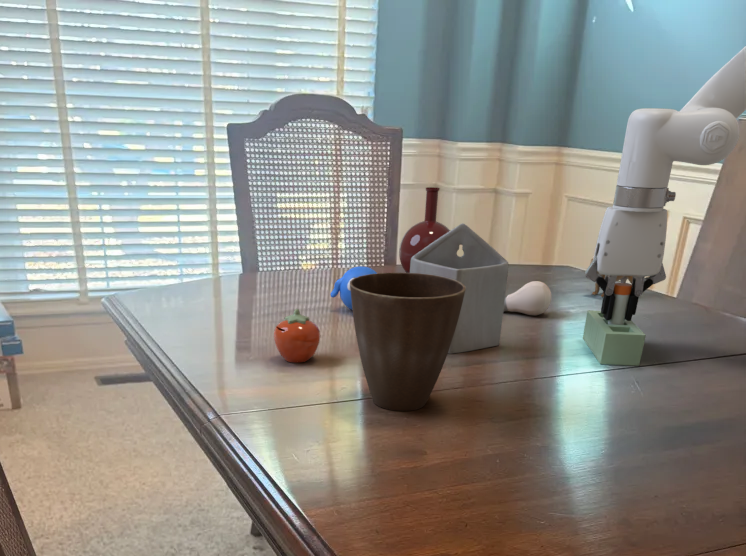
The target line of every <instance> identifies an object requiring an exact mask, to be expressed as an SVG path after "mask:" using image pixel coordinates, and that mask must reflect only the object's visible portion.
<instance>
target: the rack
mask: <svg viewBox="0 0 746 556" xmlns="http://www.w3.org/2000/svg"><path fill="white" fill-rule="evenodd" d="M646 335H647V334H645V332H643V331H642V330H641V328H640V327H638V325H636V323H635V322H634V321H633V320H632V319H631V321H627V320H626V319H625V321H624V325H614V324H608V320H606V319H605V318H604V317H603V314H602V313H601V310H588V309H587V311H586V317H585V321H584V328H583V334H582V340H583V341H584V342H585V344H586V345H587V347H588V348H589V350H590V352H592V354H593V356H594V357H595V359H596V360H597V361H598V363H599V364H600V365H609V366H630V367H631V366H632V367H633V366H634V367H639V366H640V364H641V359H642V355H643V350H644V345H645V341H646V337H647V336H646Z"/></svg>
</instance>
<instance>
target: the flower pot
mask: <svg viewBox="0 0 746 556" xmlns="http://www.w3.org/2000/svg"><path fill="white" fill-rule="evenodd" d="M350 290H351V300H352V310H351V311H352V318H353V325H354V331H355V337H356V342H357V348H358V352H359V357H360V361H361V365H362V366H361V367H362V370H363V373H364V374H363V375H364V377H365V381H366V384H367V387H368V390H369V393H370V396H371V400H372V402H373V403H374V404H375V405H376V406H378V407H380V408H383V409H386V410H390V411H396V412H409V411H410V412H411V411H416V410H419V409H421V408H423V407H424V406H425V405H427V402H428V400H429V398H430V396H431V394H432V393H433V390H434V388H435V386H436V384H437V381H438V379H439V377H440V374H441V372H442V369H443V367H444V365H445V362H446V359H447V356H448V355H449V354H448V351H449V348H450V345H451V342H452V339H453V336H454V333H455V330H456V326H457V323H458V319H459V315H460V311H461V307H462V303H463V299H464V294H465V290H466V287H465V285H464V284H463V283H461V282H459V281H456V280H453V279H450V278H446V277H441V276H435V275H429V274H420V273H406V272H377V274H368V275H363V276H359V277H356V278H354V279H352V280H351V281H350Z"/></svg>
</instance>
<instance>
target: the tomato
mask: <svg viewBox="0 0 746 556" xmlns="http://www.w3.org/2000/svg"><path fill="white" fill-rule="evenodd" d="M273 341H274V344H275V348H276V349H277V351H278V352H279V354H280V356H281V357H282V358H283V359H284V360H285V361H286V362H287V363H294V364H299V363H305V362H307V361H309V360H310V359H311V358H313V356H314V355H315V353H316V352H317V350H318V347H319V344H320V342H321V331H320V328H319V326H318V325H317V324H316V323H315V322H313V321H311V320H310V317H309V316H306V315H304V314H301V312H300V309H298V308H296V309H294V310H293V314H289V315H287V316H285V317H284V318H283V320H282V321H280V322H278V323H277V325H276V326H275V327H274V330H273Z"/></svg>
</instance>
